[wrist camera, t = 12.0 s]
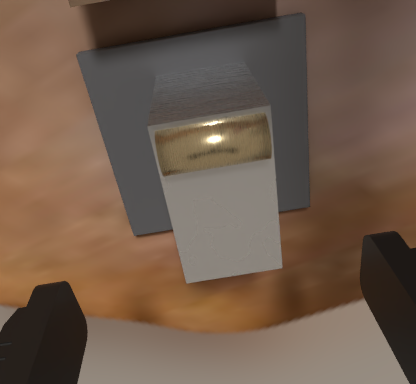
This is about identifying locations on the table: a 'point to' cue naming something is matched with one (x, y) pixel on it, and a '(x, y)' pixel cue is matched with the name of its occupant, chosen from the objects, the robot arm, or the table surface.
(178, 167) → the lever cap
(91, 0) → the brown flat block
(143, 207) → the rubber mat
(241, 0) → the table surface
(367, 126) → the table surface
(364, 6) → the table surface
